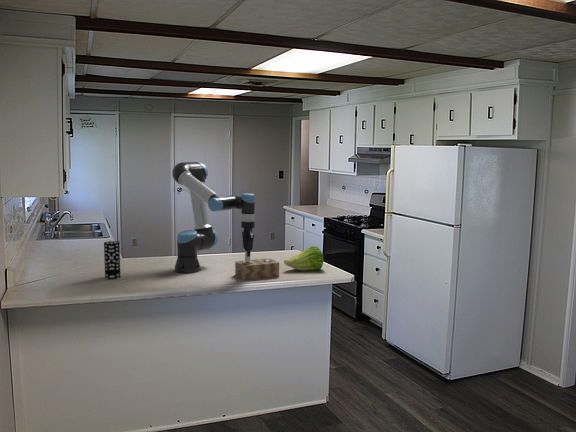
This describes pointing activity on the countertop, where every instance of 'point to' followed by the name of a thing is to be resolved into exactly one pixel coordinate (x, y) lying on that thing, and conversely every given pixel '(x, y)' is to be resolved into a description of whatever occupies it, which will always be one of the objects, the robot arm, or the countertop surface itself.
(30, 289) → the countertop surface
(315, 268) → the lettuce
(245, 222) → the robot arm
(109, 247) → the white-spotted black cylinder
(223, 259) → the countertop surface
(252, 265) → the socket block
